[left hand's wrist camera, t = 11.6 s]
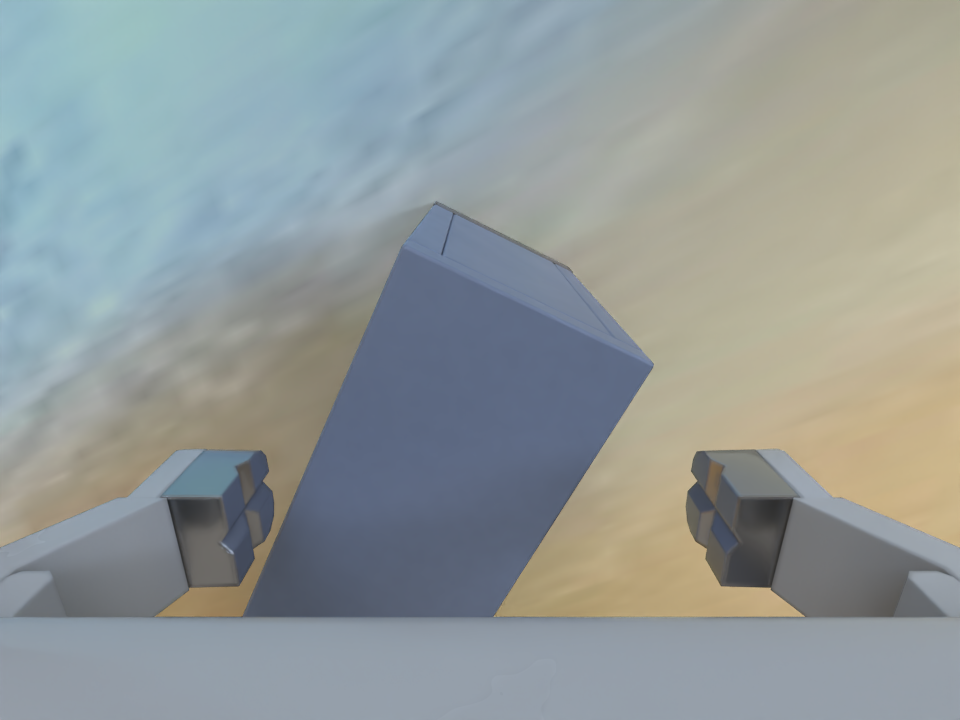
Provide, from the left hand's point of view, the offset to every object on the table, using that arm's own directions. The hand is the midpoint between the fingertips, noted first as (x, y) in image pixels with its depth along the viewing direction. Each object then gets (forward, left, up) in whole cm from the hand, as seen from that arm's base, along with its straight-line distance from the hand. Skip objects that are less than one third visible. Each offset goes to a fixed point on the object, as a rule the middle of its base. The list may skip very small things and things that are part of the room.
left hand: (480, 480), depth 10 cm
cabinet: (+5, 0, -11) cm, 12 cm away
